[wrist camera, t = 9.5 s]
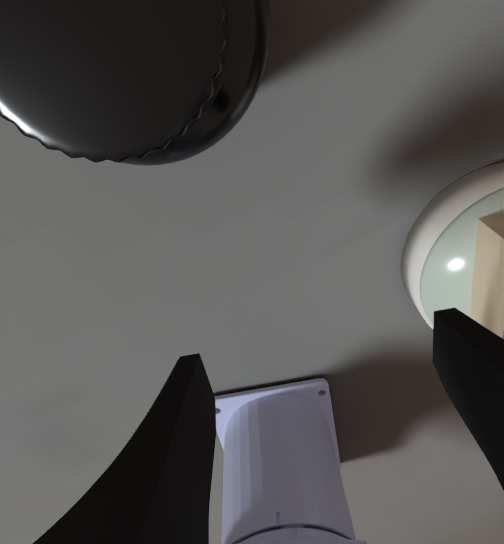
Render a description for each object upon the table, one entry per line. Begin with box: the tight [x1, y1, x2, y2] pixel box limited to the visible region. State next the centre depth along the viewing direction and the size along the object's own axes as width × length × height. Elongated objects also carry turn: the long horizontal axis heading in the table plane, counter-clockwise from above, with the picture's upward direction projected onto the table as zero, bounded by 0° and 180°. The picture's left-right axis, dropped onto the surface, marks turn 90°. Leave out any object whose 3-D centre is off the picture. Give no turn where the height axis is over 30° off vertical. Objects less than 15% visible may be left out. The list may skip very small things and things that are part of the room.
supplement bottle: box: [0, 0, 270, 165], centre depth 12 cm, size 7×7×12 cm
